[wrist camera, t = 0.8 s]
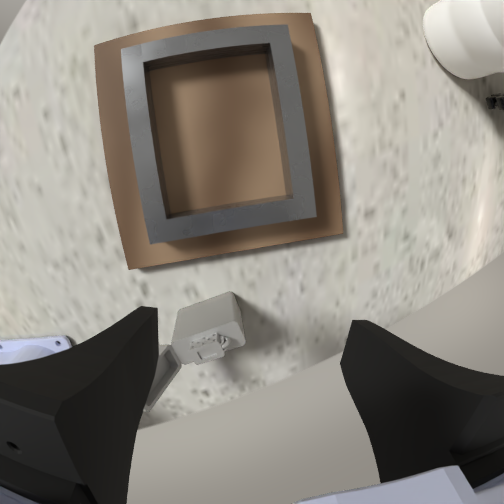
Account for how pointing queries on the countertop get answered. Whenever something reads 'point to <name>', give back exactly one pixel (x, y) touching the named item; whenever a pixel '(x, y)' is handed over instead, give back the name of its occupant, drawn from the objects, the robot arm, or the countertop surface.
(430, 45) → the water bottle
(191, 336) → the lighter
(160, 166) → the steel collar
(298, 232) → the walnut board
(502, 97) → the valve
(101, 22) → the countertop surface
